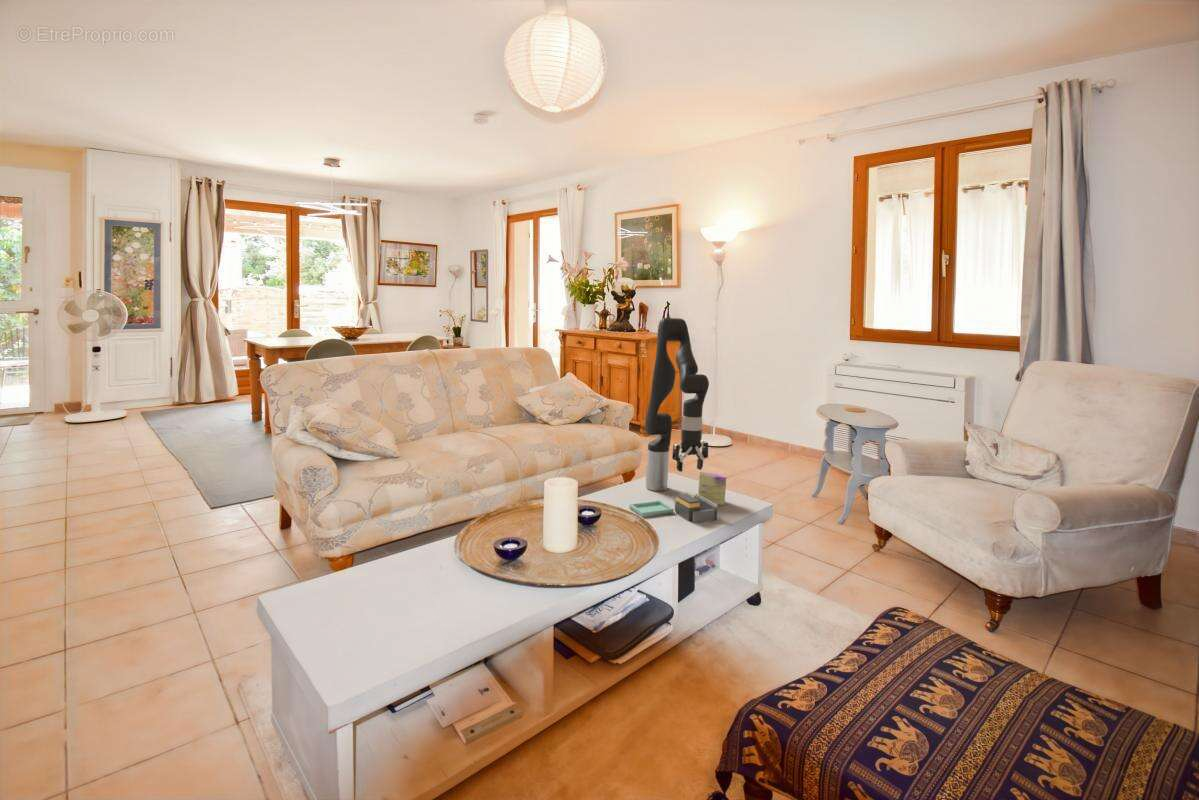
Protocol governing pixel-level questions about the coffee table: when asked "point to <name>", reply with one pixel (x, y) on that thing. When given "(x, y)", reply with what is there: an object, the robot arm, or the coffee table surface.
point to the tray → (651, 508)
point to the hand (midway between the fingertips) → (689, 470)
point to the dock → (704, 510)
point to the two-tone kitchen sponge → (686, 506)
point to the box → (712, 487)
